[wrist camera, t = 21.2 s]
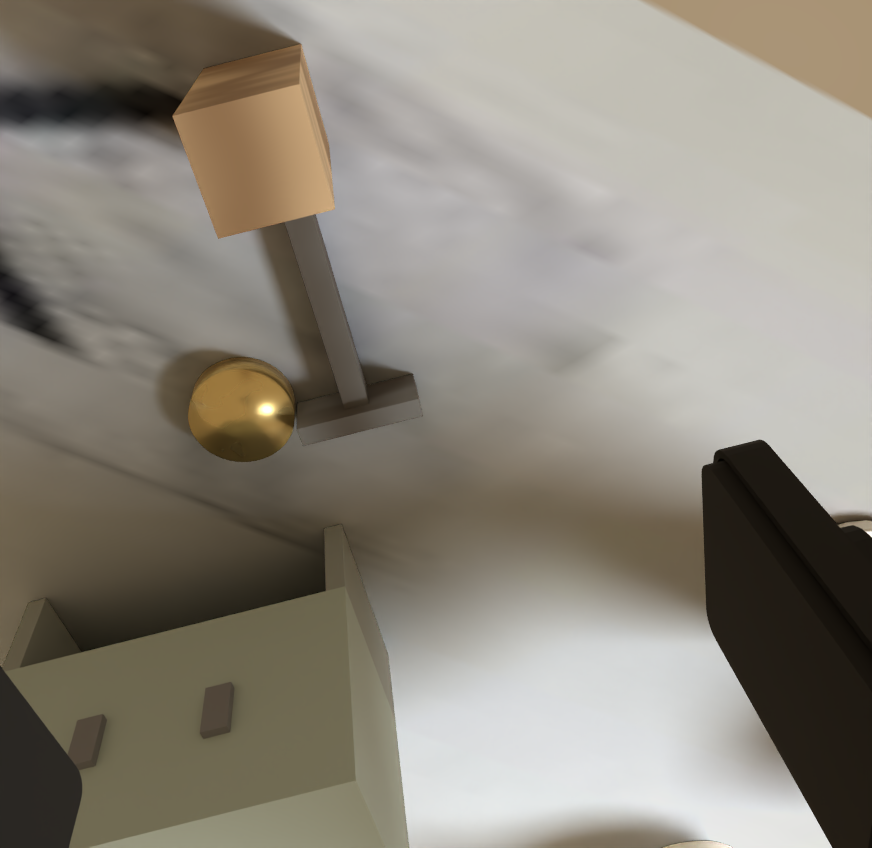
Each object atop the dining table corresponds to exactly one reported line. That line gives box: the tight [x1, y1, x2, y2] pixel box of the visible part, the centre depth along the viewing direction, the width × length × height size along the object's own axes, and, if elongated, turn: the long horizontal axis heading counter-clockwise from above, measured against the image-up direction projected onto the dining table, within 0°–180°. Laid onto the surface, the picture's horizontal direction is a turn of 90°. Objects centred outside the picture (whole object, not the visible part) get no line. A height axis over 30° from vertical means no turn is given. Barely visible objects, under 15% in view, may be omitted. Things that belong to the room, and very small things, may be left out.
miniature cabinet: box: [2, 524, 409, 848], centre depth 42 cm, size 18×12×16 cm, turn 102°
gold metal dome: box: [188, 357, 295, 462], centre depth 40 cm, size 5×5×2 cm
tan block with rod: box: [173, 44, 423, 446], centre depth 33 cm, size 6×17×9 cm, turn 12°
